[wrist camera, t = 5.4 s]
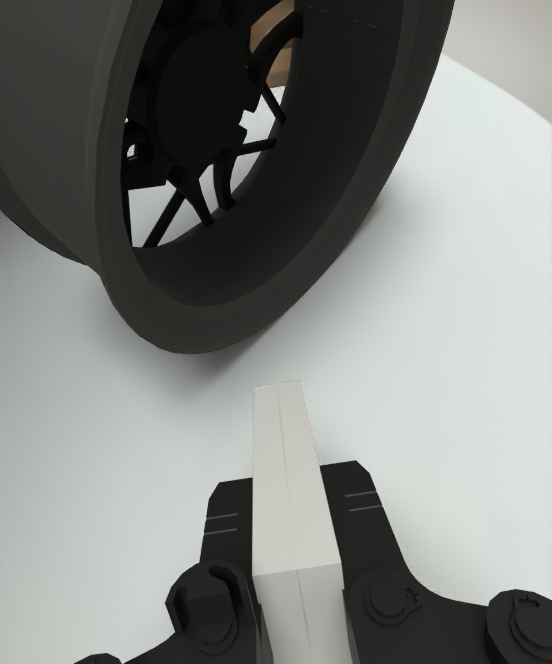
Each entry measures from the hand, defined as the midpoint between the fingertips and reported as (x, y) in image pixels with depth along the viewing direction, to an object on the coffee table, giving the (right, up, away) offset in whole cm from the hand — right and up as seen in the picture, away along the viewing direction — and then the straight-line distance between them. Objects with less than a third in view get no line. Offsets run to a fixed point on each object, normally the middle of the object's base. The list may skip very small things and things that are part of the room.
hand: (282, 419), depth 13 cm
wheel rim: (-1, +8, +14) cm, 16 cm away
